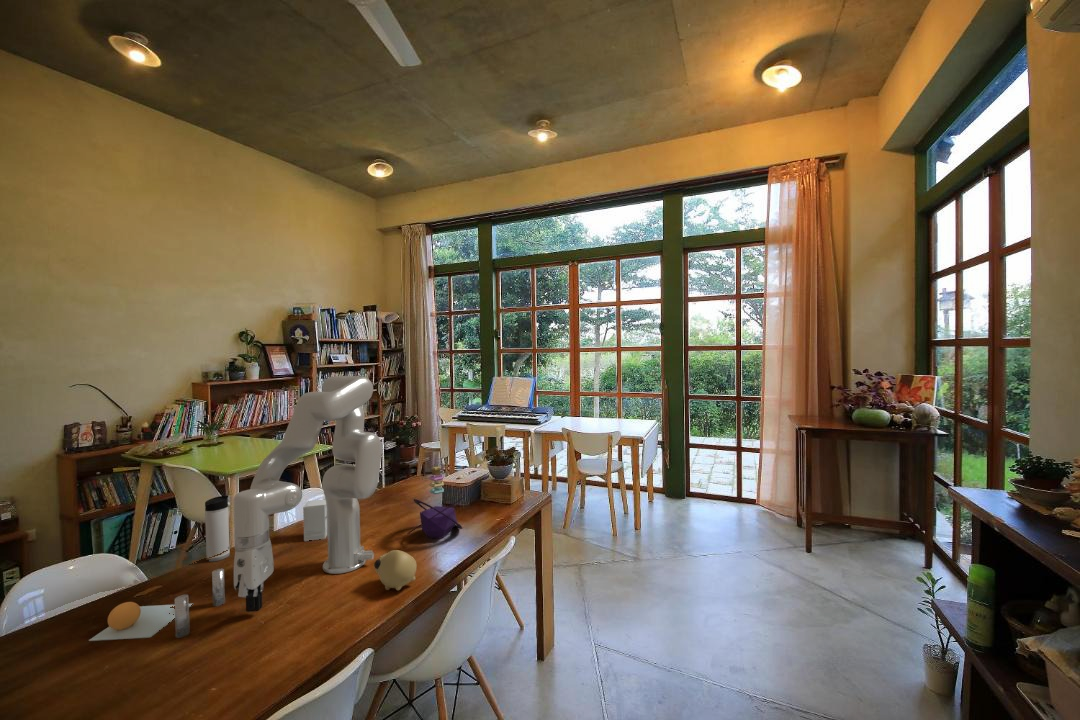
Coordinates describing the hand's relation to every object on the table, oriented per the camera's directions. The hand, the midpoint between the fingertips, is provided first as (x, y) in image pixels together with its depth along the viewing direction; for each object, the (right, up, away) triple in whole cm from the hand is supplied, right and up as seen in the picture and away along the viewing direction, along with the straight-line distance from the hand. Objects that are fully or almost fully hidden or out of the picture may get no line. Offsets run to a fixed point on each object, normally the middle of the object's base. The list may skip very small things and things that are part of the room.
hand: (254, 609), depth 113 cm
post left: (-13, -2, -7) cm, 15 cm away
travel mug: (-34, -2, +34) cm, 48 cm away
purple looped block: (+36, 0, +48) cm, 60 cm away
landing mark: (-27, -2, -2) cm, 27 cm away
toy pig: (+32, -1, +13) cm, 35 cm away
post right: (-13, -2, +6) cm, 15 cm away
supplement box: (-9, -1, +50) cm, 50 cm away
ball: (-30, +1, -4) cm, 30 cm away
